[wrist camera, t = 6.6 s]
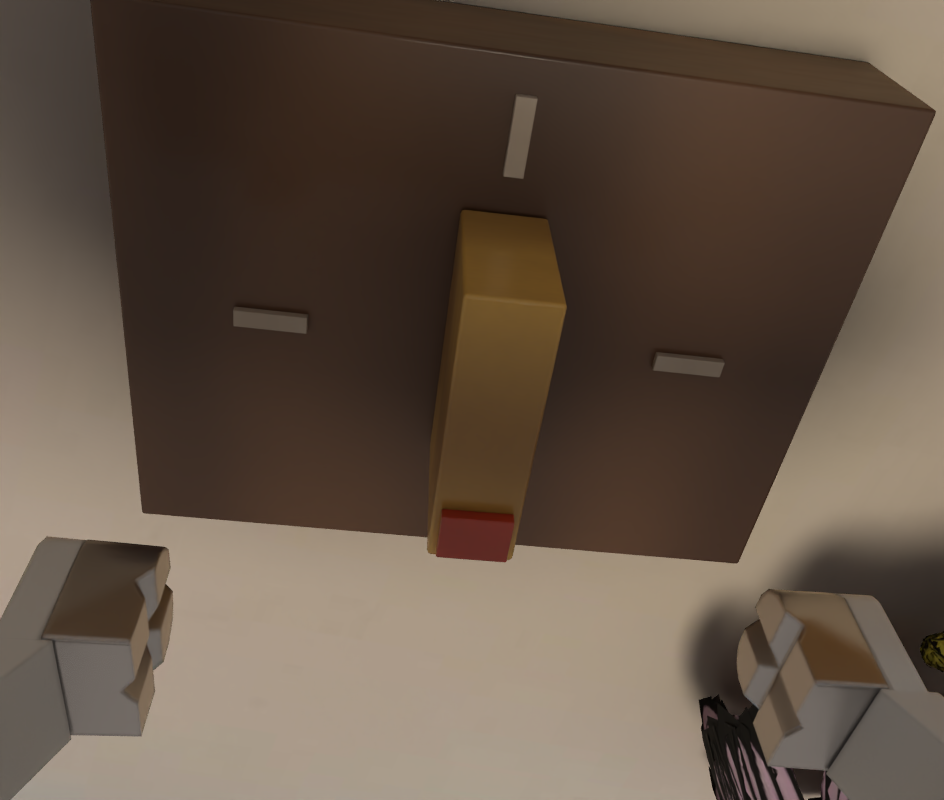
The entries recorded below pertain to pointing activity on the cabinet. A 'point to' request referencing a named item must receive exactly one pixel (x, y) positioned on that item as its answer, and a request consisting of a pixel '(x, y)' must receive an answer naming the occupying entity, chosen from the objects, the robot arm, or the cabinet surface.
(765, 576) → the cabinet surface
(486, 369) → the lock knob
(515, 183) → the plate
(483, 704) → the cabinet surface
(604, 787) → the cabinet surface
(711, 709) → the decorative flower
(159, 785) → the cabinet surface
